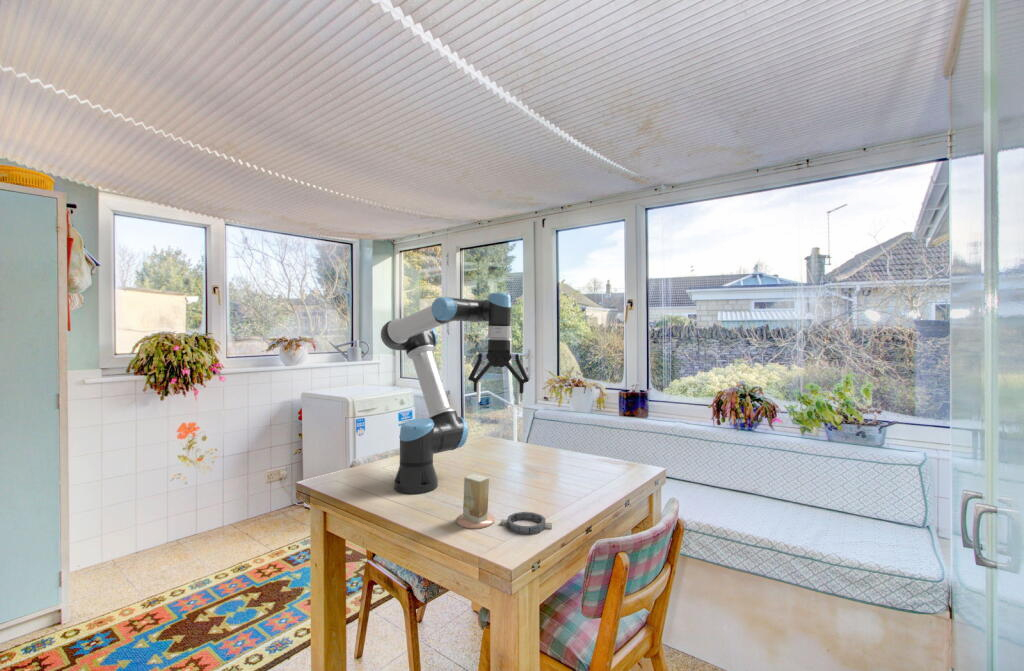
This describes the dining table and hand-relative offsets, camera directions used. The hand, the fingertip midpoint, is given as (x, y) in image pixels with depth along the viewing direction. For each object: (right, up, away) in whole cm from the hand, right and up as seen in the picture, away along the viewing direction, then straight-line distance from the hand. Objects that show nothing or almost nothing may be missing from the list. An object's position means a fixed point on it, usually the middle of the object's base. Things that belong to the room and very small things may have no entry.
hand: (498, 402), depth 151 cm
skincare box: (-6, -31, -20) cm, 37 cm away
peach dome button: (-6, -32, -19) cm, 38 cm away
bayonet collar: (+9, -32, -22) cm, 40 cm away
